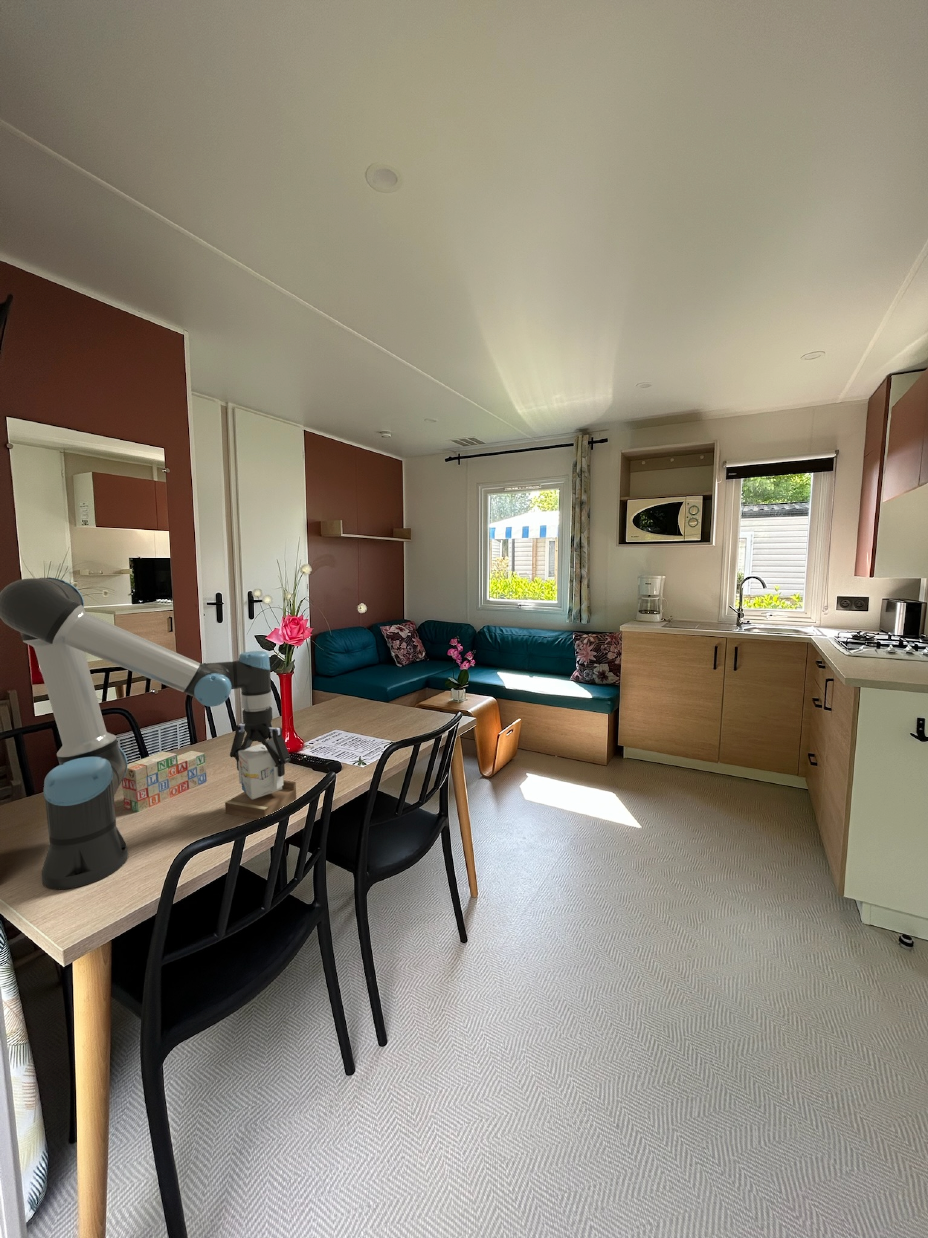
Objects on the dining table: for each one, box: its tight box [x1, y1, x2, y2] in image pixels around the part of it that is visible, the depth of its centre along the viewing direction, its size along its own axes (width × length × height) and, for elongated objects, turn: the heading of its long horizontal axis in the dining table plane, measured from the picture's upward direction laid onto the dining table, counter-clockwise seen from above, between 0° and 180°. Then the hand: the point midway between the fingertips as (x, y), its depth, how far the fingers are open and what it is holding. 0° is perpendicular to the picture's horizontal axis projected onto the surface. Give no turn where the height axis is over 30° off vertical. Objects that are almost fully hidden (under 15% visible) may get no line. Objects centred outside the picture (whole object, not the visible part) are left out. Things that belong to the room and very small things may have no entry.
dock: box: [224, 779, 297, 820], centre depth 136 cm, size 13×13×5 cm
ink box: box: [238, 743, 282, 800], centre depth 135 cm, size 9×8×12 cm
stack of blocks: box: [121, 750, 208, 813], centre depth 144 cm, size 21×6×12 cm, turn 156°
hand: (261, 784), depth 136 cm, fingers closed on ink box, 11 cm apart
